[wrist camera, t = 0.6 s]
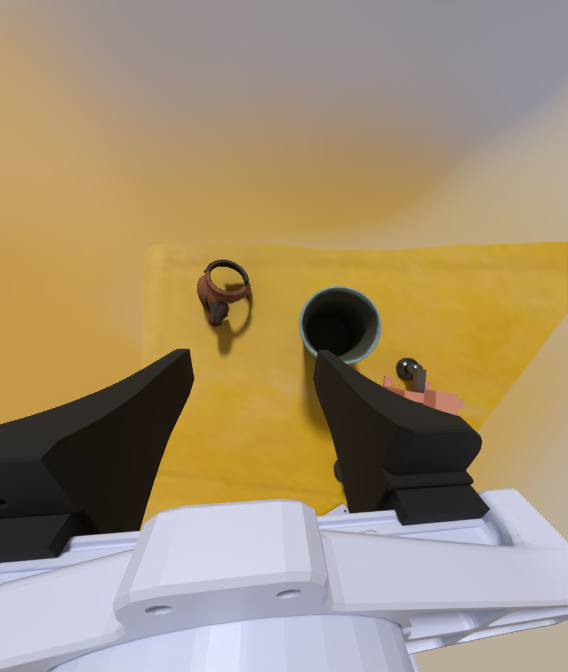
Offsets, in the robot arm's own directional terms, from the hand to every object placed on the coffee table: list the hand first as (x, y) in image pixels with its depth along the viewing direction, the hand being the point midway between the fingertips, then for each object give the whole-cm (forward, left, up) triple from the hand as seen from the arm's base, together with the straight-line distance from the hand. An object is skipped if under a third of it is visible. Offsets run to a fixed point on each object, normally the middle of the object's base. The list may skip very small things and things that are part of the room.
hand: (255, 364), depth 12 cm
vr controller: (+17, +3, -26) cm, 31 cm away
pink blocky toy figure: (-15, -15, -26) cm, 33 cm away
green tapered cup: (0, -9, -26) cm, 28 cm away
